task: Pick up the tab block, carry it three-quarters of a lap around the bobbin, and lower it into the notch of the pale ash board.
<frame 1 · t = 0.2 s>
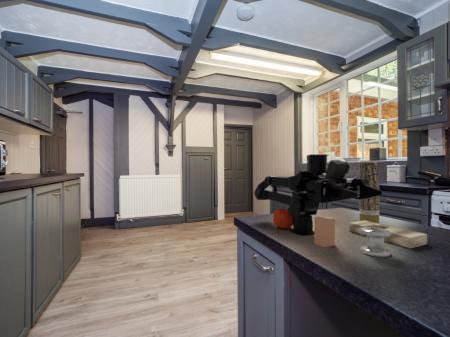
hand: (369, 194, 64), 16 cm above the counter, tool horizontal, fingers open, 9 cm apart
apple: (283, 228, 94), on the counter
notched board: (384, 237, 81), on the counter
bobbin: (375, 252, 67), on the counter
tab block: (324, 244, 74), on the counter
paper tube: (369, 224, 98), on the counter
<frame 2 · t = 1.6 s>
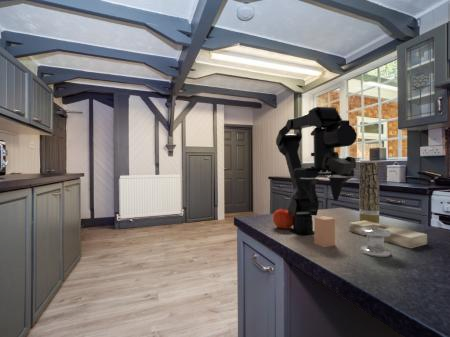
hand: (324, 201, 74), 13 cm above the counter, tool pointing down, fingers open, 9 cm apart
nothing on the counter moved.
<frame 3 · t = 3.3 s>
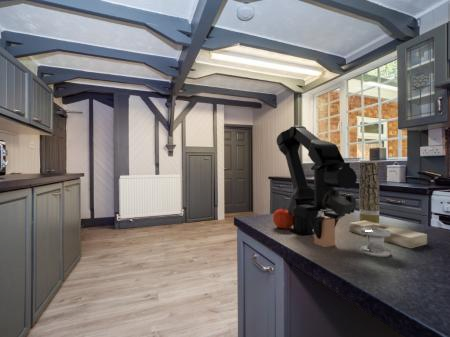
hand: (324, 237, 74), 2 cm above the counter, tool pointing down, fingers closed on tab block, 4 cm apart
tab block: (324, 244, 74), on the counter, touching gripper
everything else where it was.
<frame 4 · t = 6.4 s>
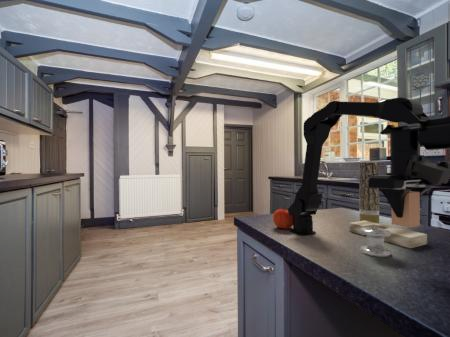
hand: (405, 216, 59), 11 cm above the counter, tool pointing down, fingers closed on tab block, 4 cm apart
tab block: (405, 224, 59), point 9 cm above the counter, touching gripper
everything else where it was.
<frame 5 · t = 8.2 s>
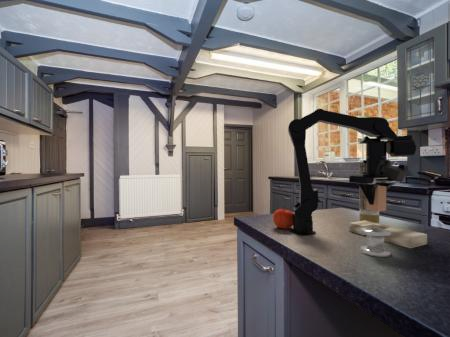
hand: (375, 204, 82), 11 cm above the counter, tool pointing down, fingers closed on tab block, 4 cm apart
tab block: (376, 210, 82), point 9 cm above the counter, touching gripper
everything else where it was.
when the fingers open (4 cm above the counter, at t = 9.6 s): tab block drops 2 cm, on the counter.
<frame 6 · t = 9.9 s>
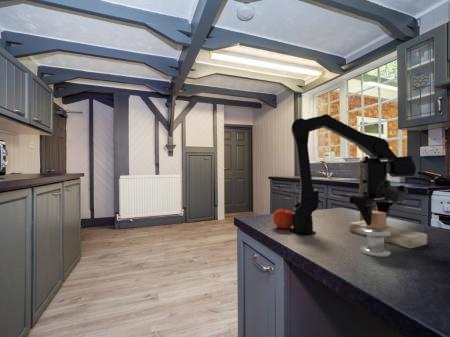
hand: (375, 224, 82), 4 cm above the counter, tool pointing down, fingers open, 7 cm apart
tab block: (376, 236, 82), on the counter
everything else where it was.
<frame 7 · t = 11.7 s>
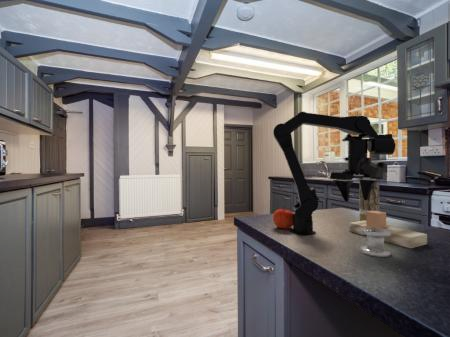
hand: (356, 200, 83), 12 cm above the counter, tool pointing down, fingers open, 9 cm apart
nothing on the counter moved.
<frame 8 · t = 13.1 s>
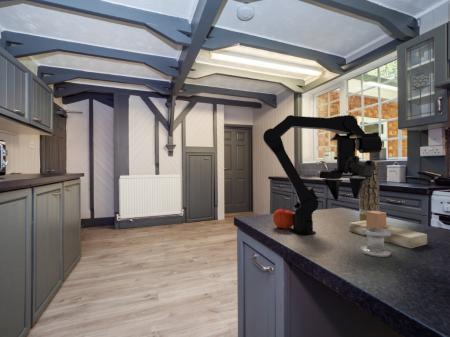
hand: (346, 199, 84), 12 cm above the counter, tool pointing down, fingers open, 9 cm apart
nothing on the counter moved.
at the end: tab block 0.1 cm from the target spot on the notched board, point 0.0 cm above the notched board's base; tab block tilted 0°; the gripper is holding nothing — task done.
